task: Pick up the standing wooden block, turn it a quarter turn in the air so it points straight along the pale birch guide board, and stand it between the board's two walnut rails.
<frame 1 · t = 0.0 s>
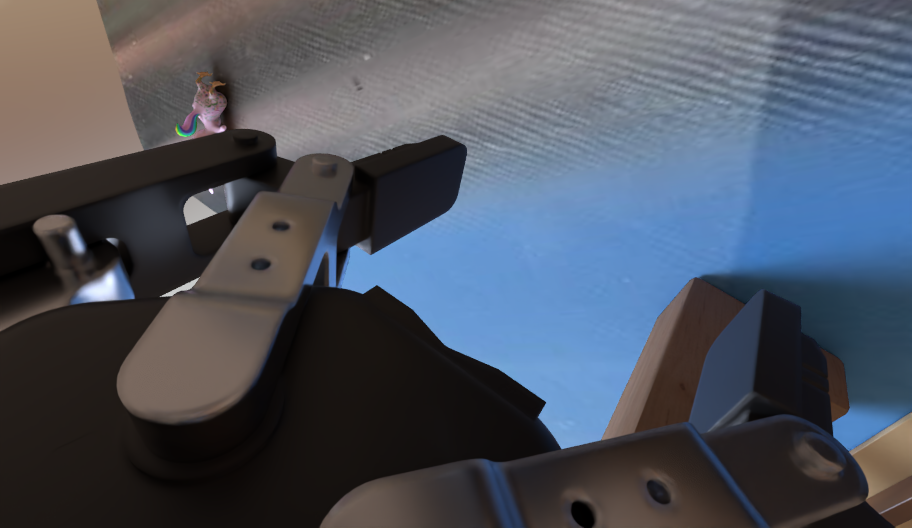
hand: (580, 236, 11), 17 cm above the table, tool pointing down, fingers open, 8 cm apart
wooden block: (741, 335, 27), on the table
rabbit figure: (226, 134, 53), on the table
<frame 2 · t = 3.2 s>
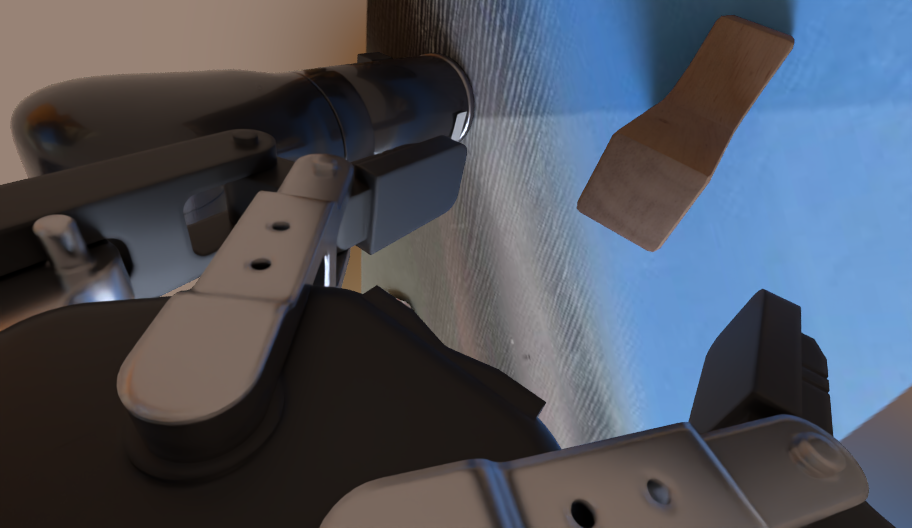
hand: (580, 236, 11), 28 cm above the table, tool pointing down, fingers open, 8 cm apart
wooden block: (718, 92, 31), on the table
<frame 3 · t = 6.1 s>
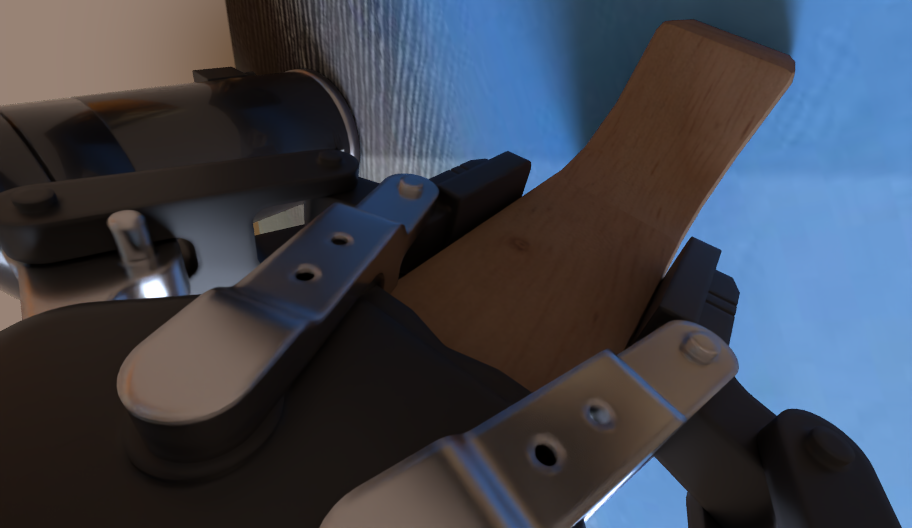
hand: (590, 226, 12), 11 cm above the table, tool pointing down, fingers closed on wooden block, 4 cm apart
wooden block: (674, 140, 19), on the table, touching gripper
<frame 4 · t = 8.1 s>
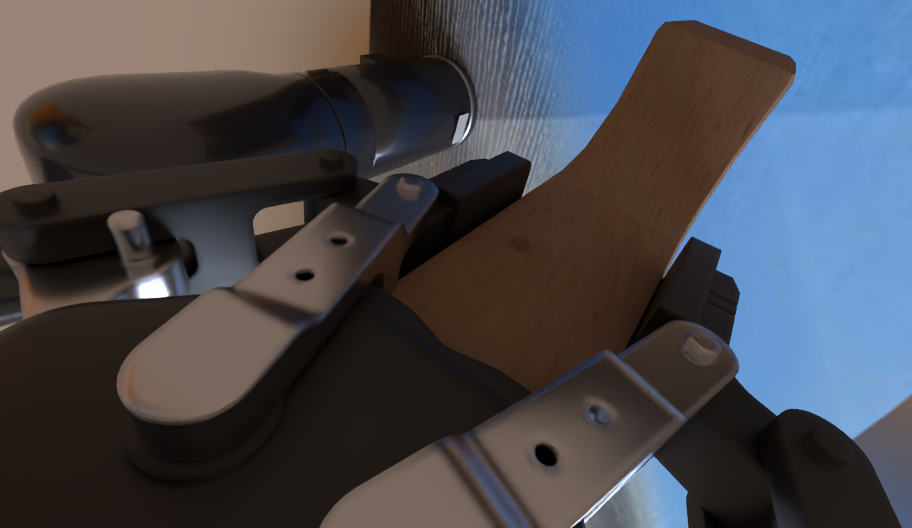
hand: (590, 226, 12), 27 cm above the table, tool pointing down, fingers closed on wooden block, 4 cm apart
wooden block: (674, 141, 19), point 16 cm above the table, touching gripper
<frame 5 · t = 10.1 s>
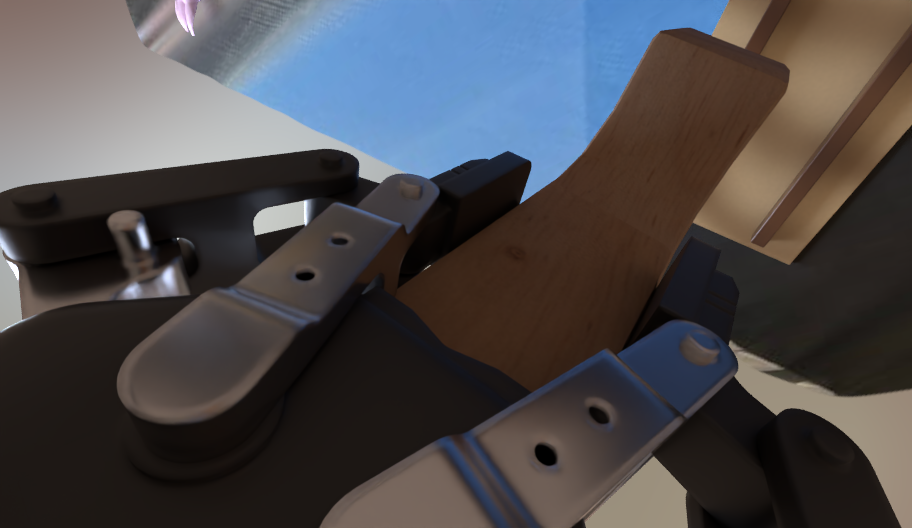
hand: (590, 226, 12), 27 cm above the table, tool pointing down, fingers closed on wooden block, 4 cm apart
wooden block: (671, 147, 20), point 16 cm above the table, touching gripper
guide: (774, 122, 30), on the table
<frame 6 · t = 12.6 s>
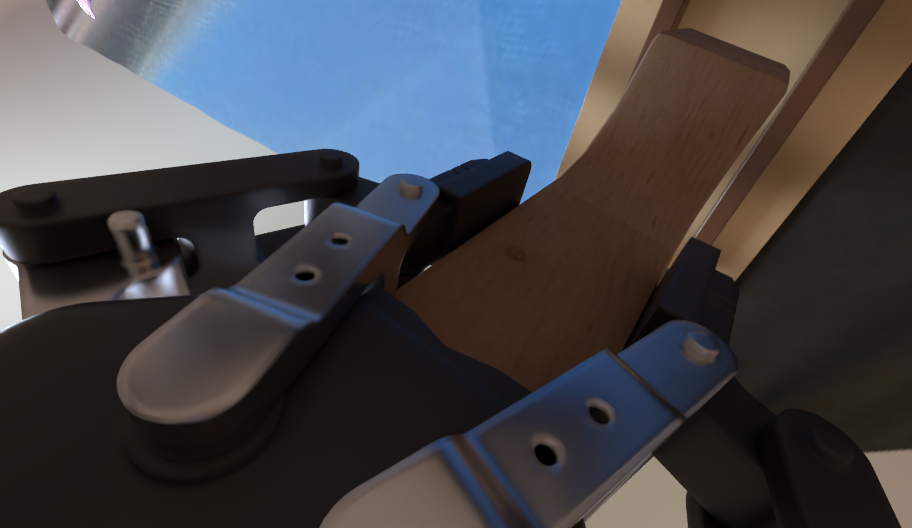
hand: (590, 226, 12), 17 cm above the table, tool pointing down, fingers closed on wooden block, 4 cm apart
wooden block: (671, 147, 19), point 6 cm above the table, touching gripper
guide: (698, 118, 24), on the table
when the fingers open (11 cm above the table, at t = 14.4 s): wooden block stays where it is, resting on guide.
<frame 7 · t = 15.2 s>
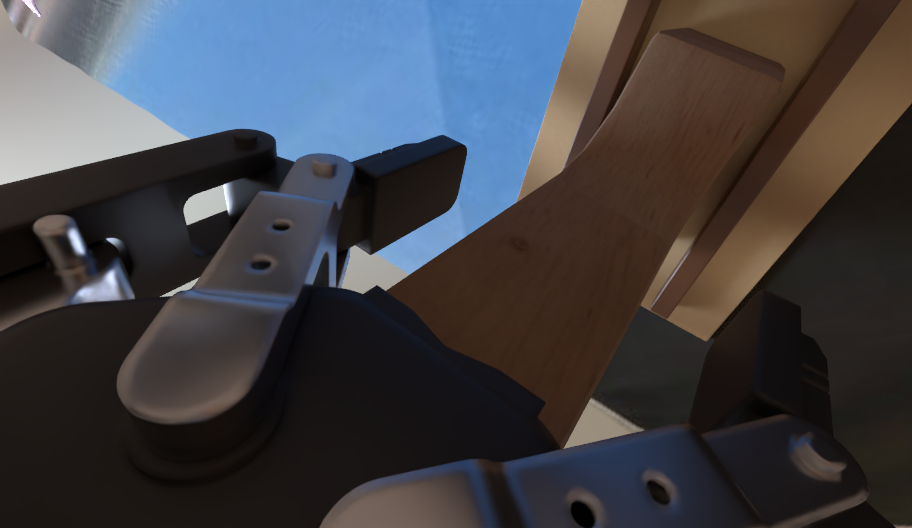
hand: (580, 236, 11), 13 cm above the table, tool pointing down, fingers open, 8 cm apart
wooden block: (670, 144, 20), resting on guide
guide: (675, 138, 20), on the table
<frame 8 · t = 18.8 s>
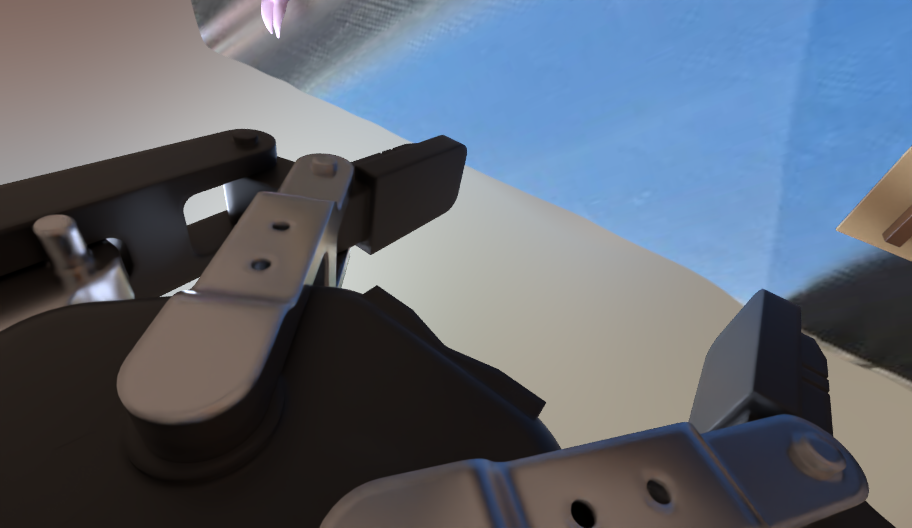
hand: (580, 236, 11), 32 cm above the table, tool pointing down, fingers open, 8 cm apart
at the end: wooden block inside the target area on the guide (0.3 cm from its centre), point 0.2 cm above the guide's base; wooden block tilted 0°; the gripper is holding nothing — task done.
